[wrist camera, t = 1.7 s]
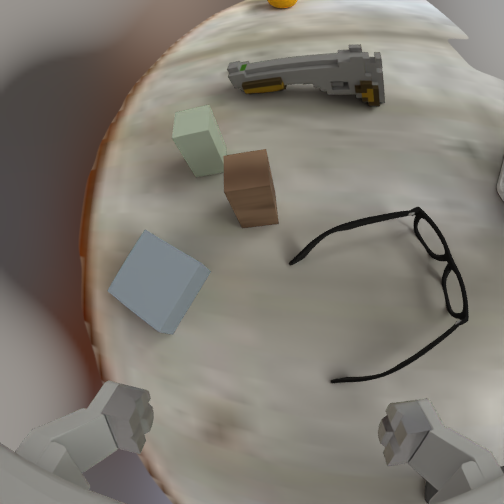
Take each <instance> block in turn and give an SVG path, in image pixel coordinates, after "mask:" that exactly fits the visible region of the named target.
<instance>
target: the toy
mask: <svg viewBox="0 0 504 504" xmlns="http://www.w3.org/2000/svg"><path fill="white" fill-rule="evenodd" d="M374 56H375V57H369V55H368V52H362V49H361V45H349V50H338V53H330V54H317V55H306V56H296V57H288V58H281V59H274V60H267V61H261V62H255V63H249V61H245V62H240V61H237V62H232V63H229V66H228V68H227V70H228V72H229V75H228V78H229V79H230V81H231V83H232V84H233V86H234V88H240V89H241V91H244V92H245V93H246V94H247V93H249V94H253V93H265V92H274V91H282V90H284V89H286V86H287V85H292V84H302V83H303V84H313V86H314V87H315V88H317V87H320V90H321V91H327V94H328V95H330V94H334V95H347V94H356V97H357V98H362V101H363V102H368V104H369V106H380V103H385V96H384V82H383V71H382V59H381V54H380V52H374Z"/></svg>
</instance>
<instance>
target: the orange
mask: <svg viewBox="0 0 504 504" xmlns="http://www.w3.org/2000/svg"><path fill="white" fill-rule="evenodd" d="M267 1H268V2H269V4H270V5H272V6H274V7H276V8H288V7H291V6H293V5H294V4H296V2H297V0H267Z"/></svg>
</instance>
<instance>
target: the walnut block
mask: <svg viewBox="0 0 504 504" xmlns="http://www.w3.org/2000/svg"><path fill="white" fill-rule="evenodd" d="M223 159H224V193H225V195H226V197H227V199H228V201H229V203H230V205H231V207H232V209H233V211H234V213H235V215H236V217H237V219H238V221H239V223H240V225H241V227H242V228H248V227H256V226H264V225H272V224H279V223H278V214H277V205H276V196H275V190H274V185H273V180H272V175H271V170H270V166H269V161H268V156H267V151H266V149H264V150H257V151H251V152H244V153H238V154H232V155H226V156H223Z"/></svg>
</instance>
